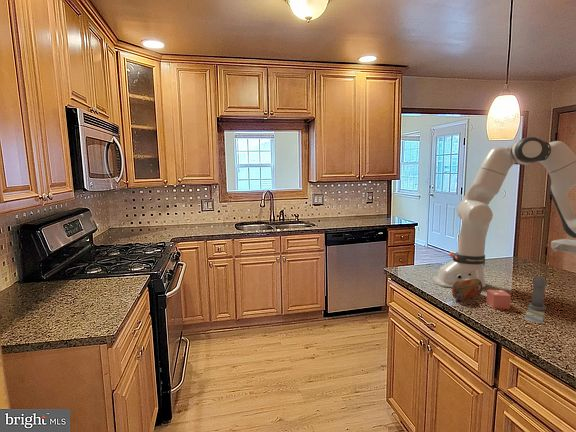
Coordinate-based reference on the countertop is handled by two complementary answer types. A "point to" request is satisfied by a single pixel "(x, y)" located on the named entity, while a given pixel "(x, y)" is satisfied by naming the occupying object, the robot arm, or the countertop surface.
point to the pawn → (538, 294)
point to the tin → (466, 289)
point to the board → (533, 318)
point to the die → (498, 299)
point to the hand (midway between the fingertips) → (566, 251)
